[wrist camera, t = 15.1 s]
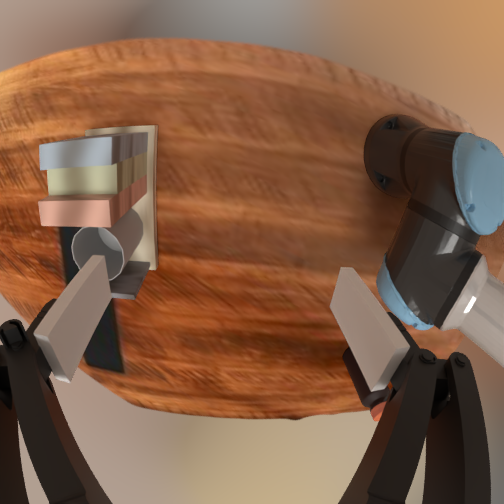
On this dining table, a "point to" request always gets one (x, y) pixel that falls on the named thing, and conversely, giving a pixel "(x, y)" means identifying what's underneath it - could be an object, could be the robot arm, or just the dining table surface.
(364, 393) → the bottle
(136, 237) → the cup
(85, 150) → the pastel book stand
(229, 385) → the dining table surface
